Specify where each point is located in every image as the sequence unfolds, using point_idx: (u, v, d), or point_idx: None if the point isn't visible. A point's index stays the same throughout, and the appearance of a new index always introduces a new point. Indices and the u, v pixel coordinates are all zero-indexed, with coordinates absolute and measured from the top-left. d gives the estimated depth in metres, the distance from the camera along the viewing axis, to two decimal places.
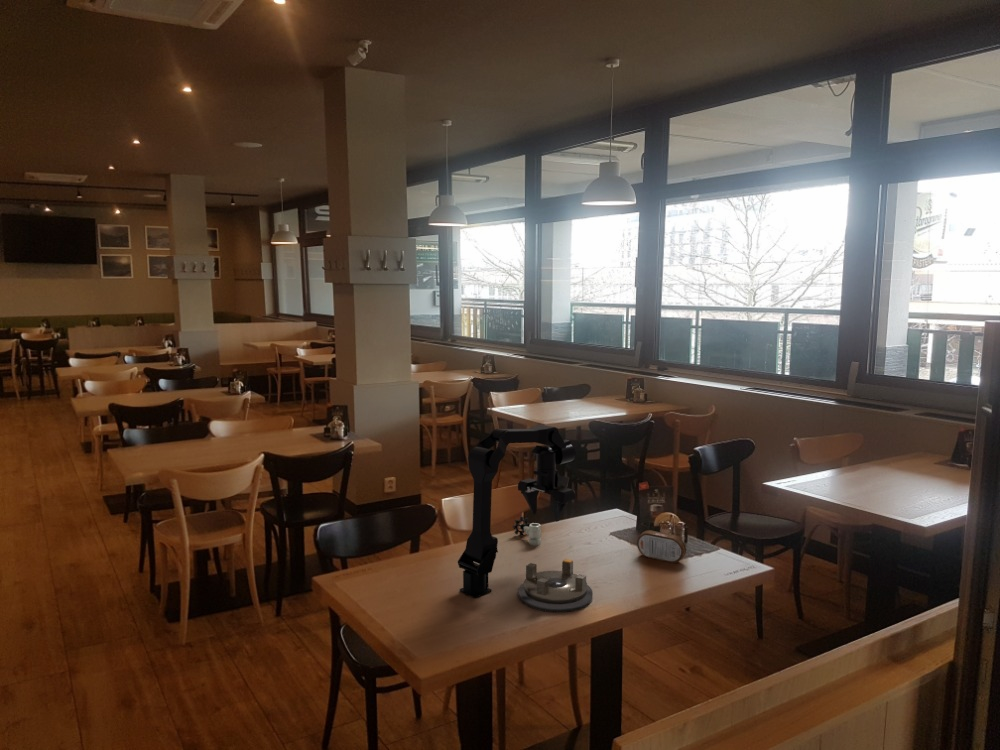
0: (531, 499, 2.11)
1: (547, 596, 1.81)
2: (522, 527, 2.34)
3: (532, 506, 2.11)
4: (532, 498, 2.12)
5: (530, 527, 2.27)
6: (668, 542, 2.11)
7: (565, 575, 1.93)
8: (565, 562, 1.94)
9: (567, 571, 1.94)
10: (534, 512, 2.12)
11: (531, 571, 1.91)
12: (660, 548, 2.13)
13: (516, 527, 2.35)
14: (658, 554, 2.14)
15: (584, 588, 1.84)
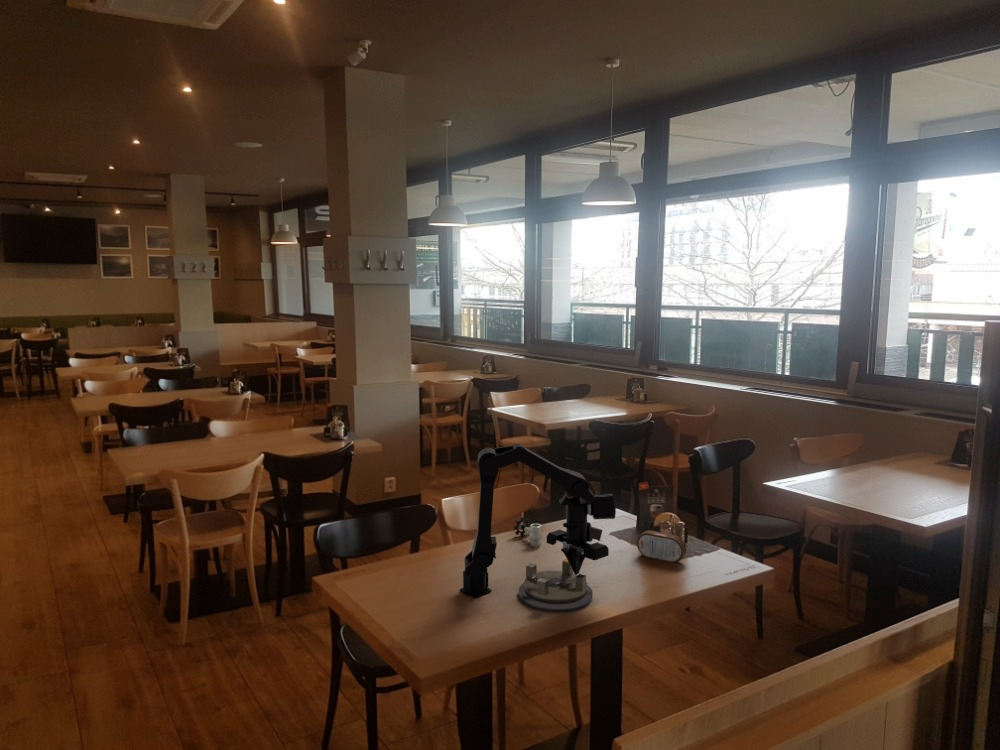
0: (572, 557, 1.91)
1: (547, 596, 1.81)
2: (523, 528, 2.34)
3: None
4: None
5: (531, 527, 2.26)
6: (668, 542, 2.11)
7: (565, 575, 1.93)
8: (565, 562, 1.94)
9: (567, 571, 1.94)
10: None
11: (531, 571, 1.91)
12: (660, 548, 2.13)
13: (517, 528, 2.35)
14: (658, 554, 2.14)
15: (584, 588, 1.84)
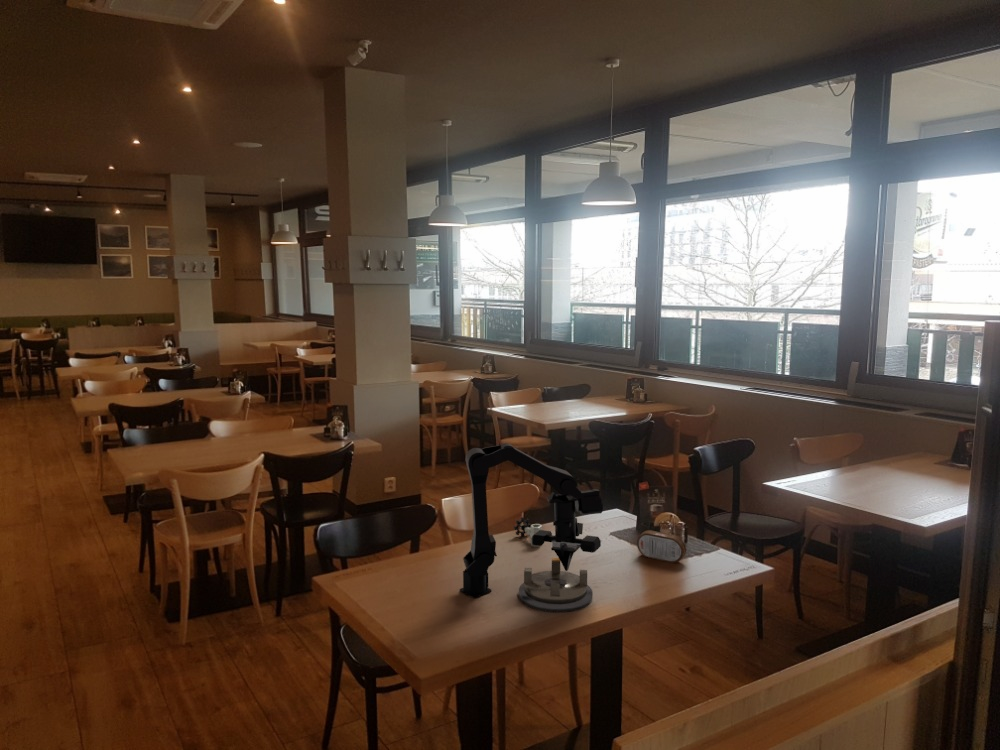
0: (563, 555, 1.93)
1: (562, 597, 1.80)
2: (523, 528, 2.33)
3: None
4: (564, 553, 1.94)
5: (532, 527, 2.26)
6: (668, 542, 2.11)
7: (556, 574, 1.94)
8: (555, 560, 1.95)
9: (557, 569, 1.95)
10: (567, 568, 1.94)
11: (530, 576, 1.88)
12: (660, 548, 2.13)
13: (517, 528, 2.34)
14: (658, 554, 2.14)
15: None
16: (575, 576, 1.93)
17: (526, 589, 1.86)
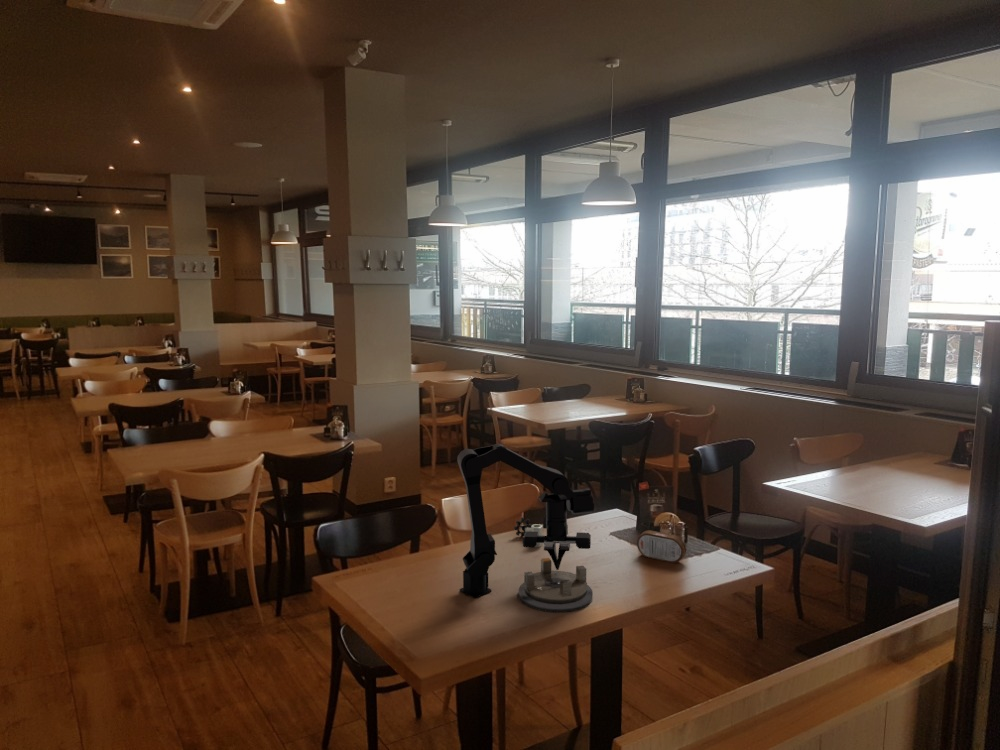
0: (555, 554, 1.94)
1: (573, 595, 1.81)
2: (523, 528, 2.33)
3: None
4: (555, 552, 1.94)
5: (532, 528, 2.26)
6: (668, 542, 2.11)
7: (548, 574, 1.94)
8: (546, 561, 1.94)
9: (548, 569, 1.95)
10: None
11: (533, 580, 1.85)
12: (660, 548, 2.13)
13: (517, 528, 2.34)
14: (658, 554, 2.14)
15: None
16: (567, 573, 1.95)
17: (532, 593, 1.83)
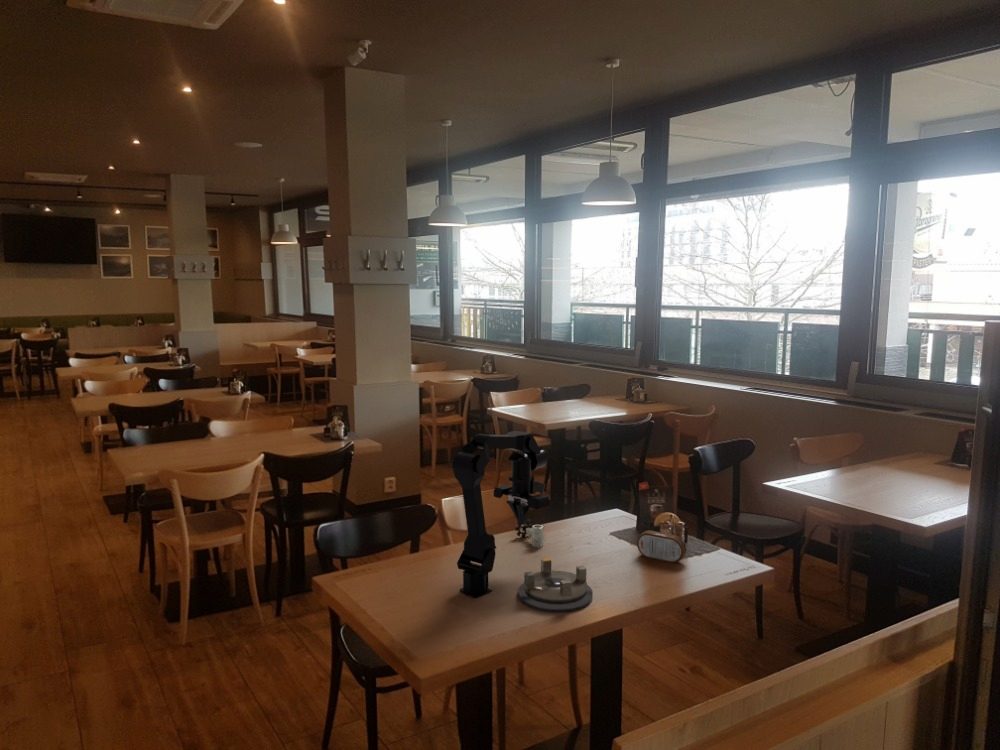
0: (517, 509, 2.07)
1: (573, 595, 1.81)
2: (524, 529, 2.32)
3: None
4: None
5: (533, 528, 2.25)
6: (668, 542, 2.11)
7: (548, 574, 1.94)
8: (546, 561, 1.94)
9: (548, 569, 1.95)
10: None
11: (533, 580, 1.85)
12: (660, 548, 2.13)
13: (518, 529, 2.34)
14: (658, 554, 2.14)
15: None
16: (567, 573, 1.95)
17: (532, 593, 1.83)
